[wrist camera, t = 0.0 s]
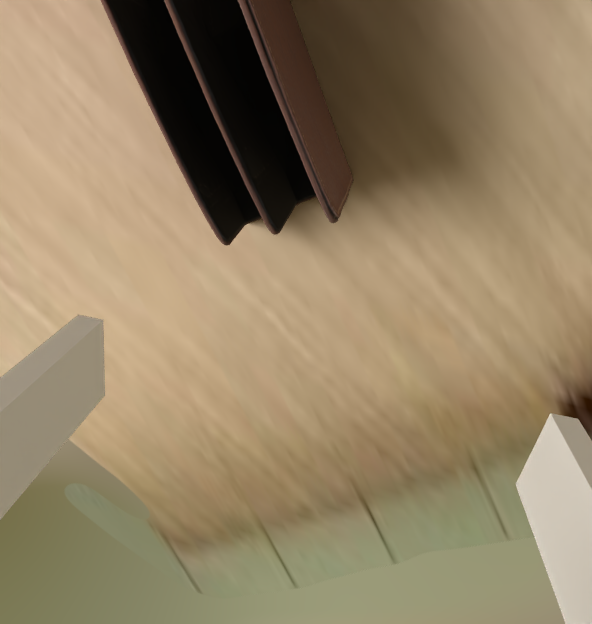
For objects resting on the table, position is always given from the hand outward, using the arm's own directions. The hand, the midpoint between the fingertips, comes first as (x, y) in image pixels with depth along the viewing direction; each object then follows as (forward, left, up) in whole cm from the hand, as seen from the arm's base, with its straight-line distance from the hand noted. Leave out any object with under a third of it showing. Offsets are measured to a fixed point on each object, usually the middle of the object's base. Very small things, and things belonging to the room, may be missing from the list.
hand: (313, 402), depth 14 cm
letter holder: (-7, -9, -28) cm, 31 cm away
